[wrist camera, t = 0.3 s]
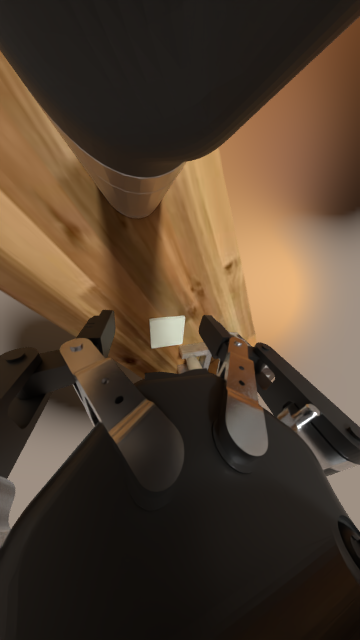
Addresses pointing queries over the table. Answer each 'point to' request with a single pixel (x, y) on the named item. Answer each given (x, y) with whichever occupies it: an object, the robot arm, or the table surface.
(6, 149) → the table surface
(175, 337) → the pad
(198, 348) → the clamp
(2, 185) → the table surface
